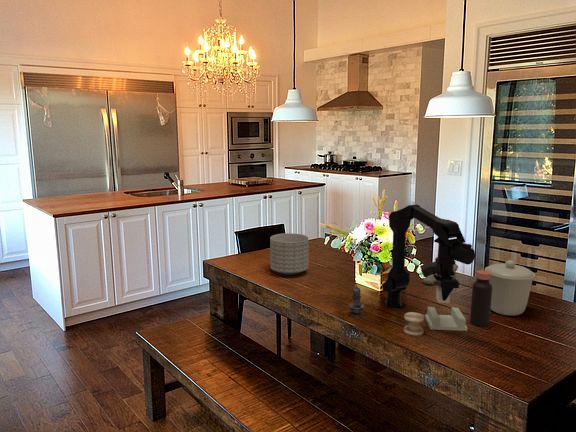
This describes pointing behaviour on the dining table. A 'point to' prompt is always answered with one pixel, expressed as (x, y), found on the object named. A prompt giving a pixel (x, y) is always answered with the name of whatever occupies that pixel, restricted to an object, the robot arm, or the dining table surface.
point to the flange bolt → (356, 303)
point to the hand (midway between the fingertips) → (442, 298)
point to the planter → (289, 253)
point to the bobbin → (414, 323)
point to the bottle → (481, 299)
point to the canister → (509, 287)
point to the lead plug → (439, 296)
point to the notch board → (446, 320)
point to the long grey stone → (432, 280)
